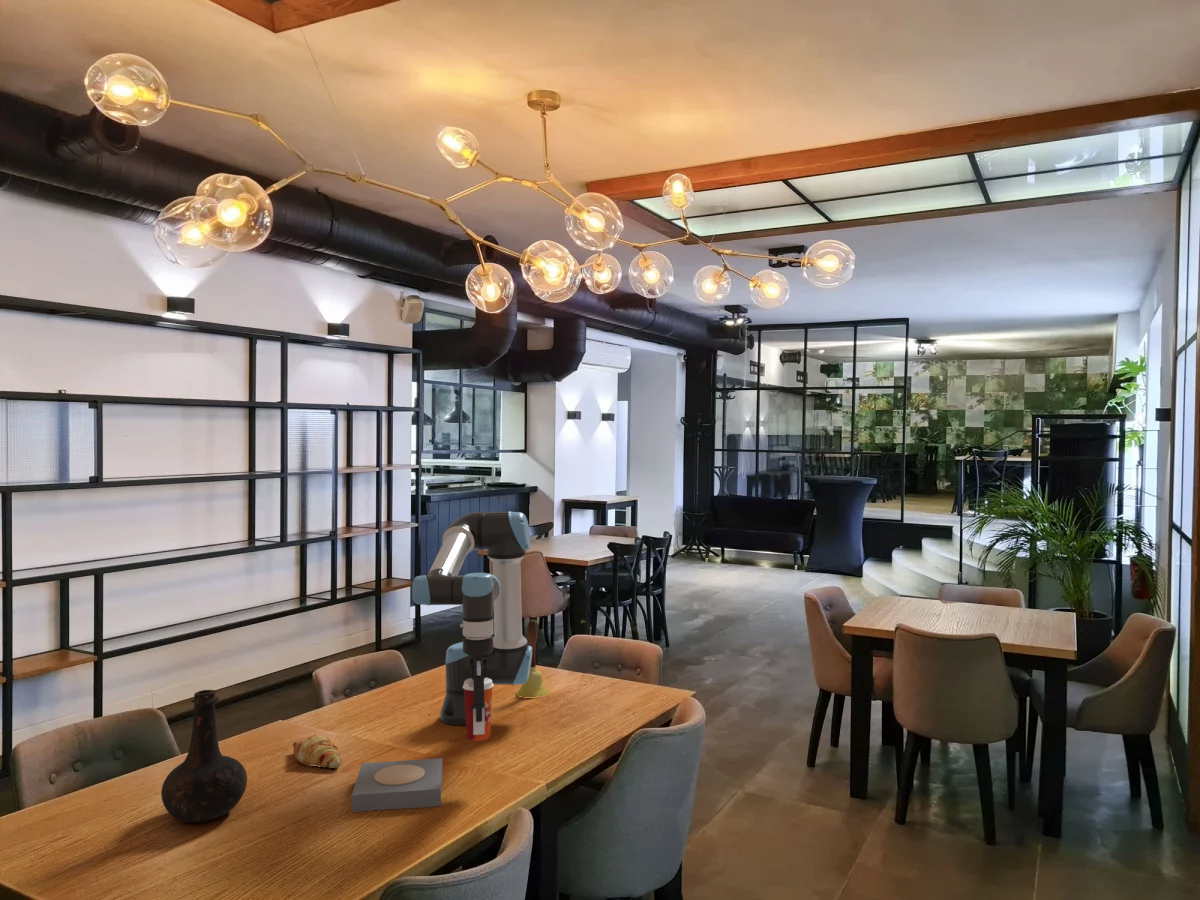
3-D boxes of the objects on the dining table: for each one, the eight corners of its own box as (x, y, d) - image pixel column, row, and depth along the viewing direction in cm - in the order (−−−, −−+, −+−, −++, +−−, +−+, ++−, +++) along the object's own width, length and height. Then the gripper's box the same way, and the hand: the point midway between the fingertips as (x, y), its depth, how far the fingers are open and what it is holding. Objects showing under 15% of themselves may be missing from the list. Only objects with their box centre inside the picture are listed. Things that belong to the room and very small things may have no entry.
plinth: (361, 779, 211) (361, 761, 211) (442, 773, 214) (442, 756, 214) (351, 812, 191) (351, 793, 191) (440, 806, 195) (440, 787, 195)
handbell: (514, 689, 292) (513, 617, 292) (549, 687, 293) (549, 616, 293) (514, 699, 279) (514, 624, 279) (551, 697, 281) (551, 623, 281)
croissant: (348, 780, 219) (360, 750, 222) (318, 773, 212) (331, 741, 215) (303, 760, 232) (315, 732, 235) (273, 752, 225) (287, 723, 228)
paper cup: (488, 743, 203) (487, 686, 203) (458, 741, 204) (457, 684, 204) (498, 732, 210) (498, 677, 210) (469, 730, 212) (469, 675, 212)
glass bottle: (191, 839, 178) (190, 708, 179) (144, 820, 188) (144, 695, 188) (263, 809, 194) (263, 688, 194) (217, 792, 203) (216, 677, 203)
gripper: (462, 628, 216) (463, 716, 216) (462, 646, 197) (463, 743, 197) (491, 627, 217) (492, 715, 218) (494, 645, 198) (495, 741, 198)
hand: (478, 728), depth 207 cm, fingers closed on paper cup, 7 cm apart
